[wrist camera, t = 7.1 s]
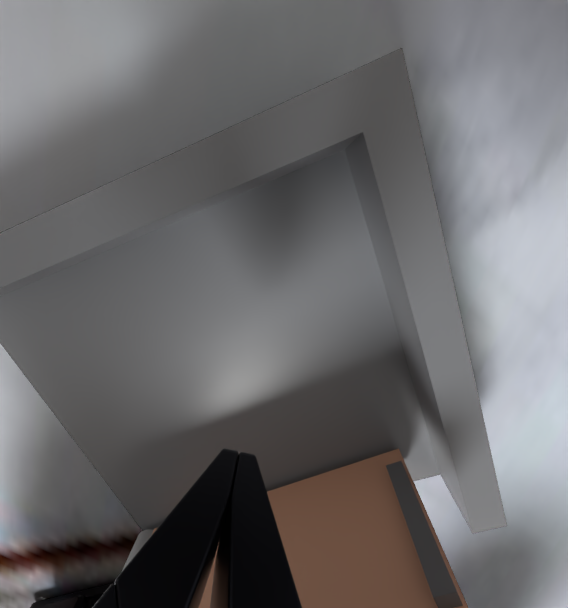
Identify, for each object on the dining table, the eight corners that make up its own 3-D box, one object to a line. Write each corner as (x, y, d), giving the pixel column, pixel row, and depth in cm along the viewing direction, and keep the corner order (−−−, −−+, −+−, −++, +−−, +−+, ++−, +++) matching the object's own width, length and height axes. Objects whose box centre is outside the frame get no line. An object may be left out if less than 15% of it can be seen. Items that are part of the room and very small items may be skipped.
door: (148, 552, 15) (55, 781, 9) (125, 527, 14) (12, 753, 8) (408, 470, 13) (507, 697, 7) (394, 437, 12) (488, 653, 6)
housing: (460, 464, 14) (649, 759, 7) (164, 542, 17) (57, 831, 9) (363, 100, 10) (631, -267, 2) (-32, 276, 12) (-606, 410, 4)
